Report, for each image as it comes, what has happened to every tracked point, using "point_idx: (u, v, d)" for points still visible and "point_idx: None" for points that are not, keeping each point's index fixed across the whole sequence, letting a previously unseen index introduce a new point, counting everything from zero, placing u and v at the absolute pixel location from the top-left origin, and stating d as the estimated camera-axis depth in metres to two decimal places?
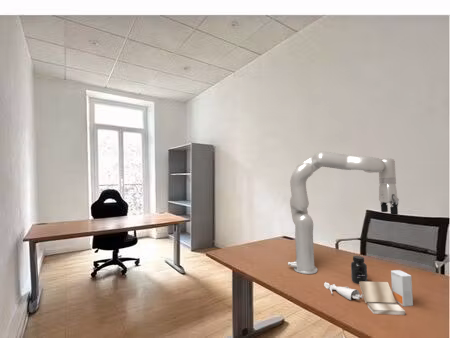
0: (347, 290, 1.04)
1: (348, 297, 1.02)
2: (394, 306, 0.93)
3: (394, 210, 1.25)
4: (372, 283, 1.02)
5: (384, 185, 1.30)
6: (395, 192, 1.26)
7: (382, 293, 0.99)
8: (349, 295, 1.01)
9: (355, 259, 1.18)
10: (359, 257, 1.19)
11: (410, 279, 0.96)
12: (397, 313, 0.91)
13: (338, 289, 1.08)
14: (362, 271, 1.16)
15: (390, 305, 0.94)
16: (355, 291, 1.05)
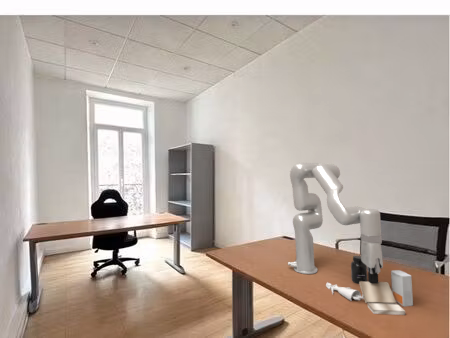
0: (348, 291, 1.03)
1: (349, 298, 1.01)
2: (394, 306, 0.93)
3: (374, 278, 1.01)
4: (372, 283, 1.02)
5: (366, 244, 1.01)
6: (380, 255, 0.97)
7: (382, 293, 0.99)
8: (350, 296, 1.01)
9: (355, 259, 1.18)
10: (359, 257, 1.19)
11: (410, 279, 0.96)
12: (397, 313, 0.91)
13: (339, 289, 1.07)
14: (362, 271, 1.16)
15: (390, 305, 0.94)
16: (356, 292, 1.04)
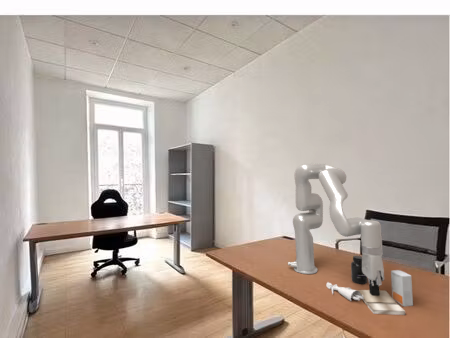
0: (348, 291, 1.03)
1: (348, 298, 1.01)
2: (394, 306, 0.93)
3: (375, 290, 1.00)
4: None
5: (367, 256, 1.01)
6: (381, 268, 0.97)
7: (381, 296, 1.00)
8: (349, 296, 1.01)
9: (355, 259, 1.18)
10: (359, 257, 1.19)
11: (410, 279, 0.96)
12: (397, 313, 0.91)
13: (339, 289, 1.07)
14: None
15: (390, 305, 0.94)
16: (356, 292, 1.04)
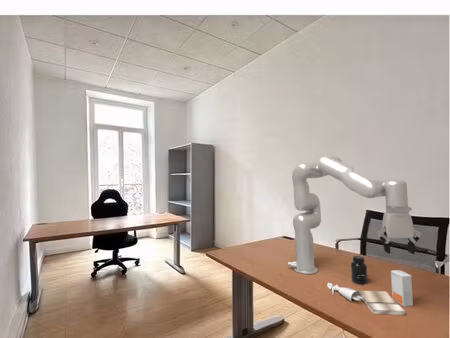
0: (348, 291, 1.03)
1: (349, 298, 1.01)
2: (394, 306, 0.93)
3: (384, 246, 1.01)
4: (371, 292, 1.04)
5: None
6: (386, 224, 0.99)
7: (381, 297, 1.00)
8: (350, 296, 1.01)
9: (355, 259, 1.18)
10: (359, 257, 1.19)
11: (410, 279, 0.96)
12: (397, 313, 0.91)
13: (340, 290, 1.07)
14: (362, 271, 1.16)
15: (390, 305, 0.94)
16: (357, 292, 1.03)
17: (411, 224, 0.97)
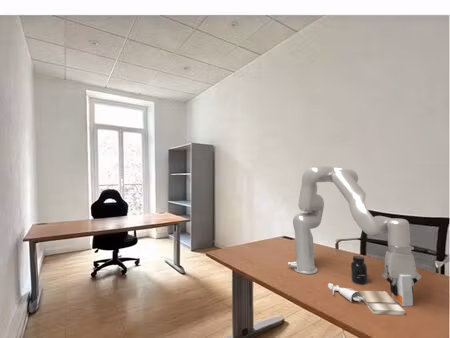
0: (349, 291, 1.02)
1: (349, 298, 1.01)
2: (394, 306, 0.93)
3: (391, 288, 1.00)
4: (371, 292, 1.04)
5: None
6: (388, 264, 0.99)
7: (381, 297, 1.00)
8: (350, 297, 1.00)
9: (355, 259, 1.18)
10: (359, 257, 1.19)
11: (410, 279, 0.96)
12: (397, 313, 0.91)
13: (340, 290, 1.06)
14: (362, 271, 1.16)
15: (390, 305, 0.94)
16: (358, 293, 1.03)
17: (413, 264, 0.97)
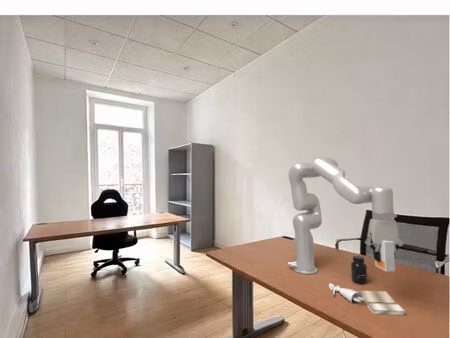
0: (349, 292, 1.02)
1: (349, 299, 1.00)
2: (394, 306, 0.93)
3: (374, 254, 1.02)
4: (371, 292, 1.04)
5: None
6: (372, 231, 1.00)
7: (381, 297, 1.00)
8: (350, 297, 1.00)
9: (355, 259, 1.18)
10: (359, 257, 1.19)
11: (392, 245, 0.98)
12: (397, 313, 0.91)
13: (341, 291, 1.06)
14: (362, 271, 1.16)
15: (390, 305, 0.94)
16: (358, 294, 1.02)
17: (396, 231, 0.99)
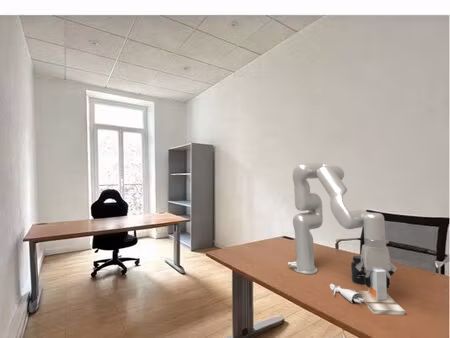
0: (349, 293, 1.01)
1: (349, 300, 1.00)
2: (394, 306, 0.93)
3: (364, 280, 1.02)
4: None
5: None
6: (364, 257, 1.01)
7: None
8: (350, 298, 0.99)
9: (355, 259, 1.18)
10: (359, 257, 1.19)
11: (385, 274, 0.97)
12: (397, 313, 0.91)
13: (342, 291, 1.06)
14: None
15: (390, 305, 0.94)
16: (359, 294, 1.02)
17: (388, 257, 0.99)
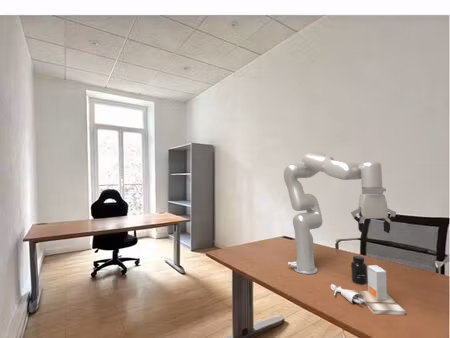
0: (350, 293, 1.01)
1: (350, 300, 0.99)
2: (394, 306, 0.93)
3: (358, 226, 1.03)
4: None
5: None
6: (361, 205, 1.01)
7: None
8: (351, 298, 0.99)
9: (355, 259, 1.18)
10: (359, 257, 1.19)
11: (385, 275, 0.97)
12: (397, 313, 0.91)
13: (342, 291, 1.05)
14: (362, 271, 1.16)
15: (390, 305, 0.94)
16: (359, 295, 1.01)
17: (385, 204, 0.99)
